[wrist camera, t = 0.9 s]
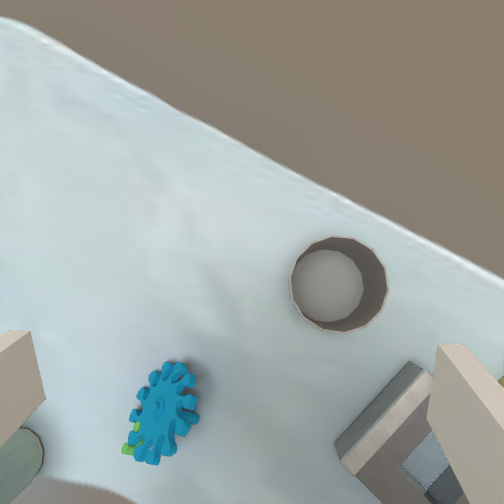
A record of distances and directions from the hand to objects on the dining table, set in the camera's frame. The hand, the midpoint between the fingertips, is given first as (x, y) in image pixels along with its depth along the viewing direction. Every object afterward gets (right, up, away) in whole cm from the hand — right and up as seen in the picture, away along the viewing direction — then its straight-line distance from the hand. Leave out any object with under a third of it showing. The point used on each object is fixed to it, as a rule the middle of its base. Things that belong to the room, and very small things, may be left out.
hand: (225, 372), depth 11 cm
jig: (+19, -17, +25) cm, 36 cm away
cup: (+9, 0, +29) cm, 30 cm away
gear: (-8, -13, +29) cm, 33 cm away
